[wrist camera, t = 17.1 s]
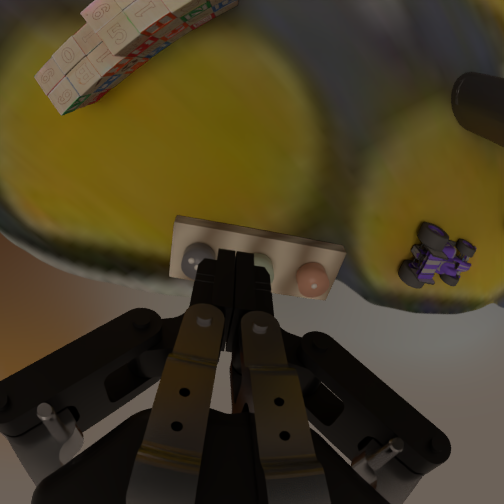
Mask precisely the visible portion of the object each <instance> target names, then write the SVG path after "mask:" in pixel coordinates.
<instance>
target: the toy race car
mask: <svg viewBox="0 0 504 504" xmlns="http://www.w3.org/2000/svg"><path fill="white" fill-rule="evenodd" d="M417 236H418V238H419V239H420V241H421V242H423V243H422V245H421V246H418V245H414V246H413V248H412V250H411V252H412V253H413V255H414V256H415V259H418V260H419V262H418V263H417V262H415V259H414V261H411V260H405V261H404V262H403V264H402V266H401V268H400V270H399V272H398V275H399V277H400V279H401V280H402V281H403V282H404V283H406V284H407V285H409V286H411V287H413V288H422V286H423V285H424V283H427V284H432V285H433V284H434V283H435V282H434V281H433V279H432V277H433V276H434V273H435V272H436V273H438V274H440V278H441V279H442V280H443V281H444V282H445V283H446V284H448V285H450V286H455V285H456V284H457V282H458V281H459V278H460V273H461V271H467V270H469V268H470V266H471V264H470V263H467V261H468V259H469V257H473V255H474V253H475V251H476V247H475V246H473V245H472V244H471V243H469V242H468V241H466V240H464V239H459V241H458V242H457V244H456V242H454V241H451V240H449V236H448V234H447V233H446V232H445V231H443V230H442V229H441V228H439V227H438V226H436V225H434V224H431V223H428V222H424V223H423V224H422V226H421V229H420V231H419V233H418V235H417ZM455 244H456V248H457V249H458V250H459V251H460V252H461V253H462V254H461V253H460V254H461V256H460V255H459V256H460V257H459V256H455V254H456V248H455V247H454V246H455ZM423 245H424V246H423ZM463 254H464V255H465V257H464V256H463ZM462 256H463V258H462V259H461V257H462ZM422 262H423V263H422ZM421 263H422V265H420V264H421Z"/></svg>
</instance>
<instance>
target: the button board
mask: <svg viewBox="0 0 504 504" xmlns="http://www.w3.org/2000/svg"><path fill="white" fill-rule="evenodd" d="M194 243H203V244H206V245H208V246H209V247H211V248H212V249H213V251H214V252H215V256H216V259H215V260H217V256H218V249H219V248H221V249H227V250H234V251H236V252H237V251H241V252H247V253H261V254H264V255H266V256H268V257H269V258H270V259H271V261H272V264H273V271H274V280H273V282H272V283H271V292H272V293H275V294H283V295H289V296H296V297H303V298H309V297H305V296H303V295H302V294H301V293H300V292H299V289H298V284H297V280H296V273H297V271H298V270H299V268H300V267H302V266H303V265H305V264H307V263H318V264H321V265H322V266H323V267H324V268H325V270H326V273H327V276H328V279H329V288H328V289H327V291H326V292H325V293H324V294H322V295H321V296H318V297H314V298H310V299H318V300H326V298H327V296H328V293H329V291H330V289H331V287H332V285H333V282H334V280H335V278H336V276H337V274H338V271H339V269H340V267H341V264H342V262H343V260H344V257H345V255H346V251H345V249H344V247H343V245H338V244H333V243H327V242H322V241H317V240H312V239H307V238H301V237H296V236H291V235H286V234H280V233H275V232H269V231H264V230H258V229H253V228H247V227H242V226H236V225H231V224H225V223H219V222H214V221H208V220H202V219H196V218H190V217H184V216H178V215H177V217H176V219H175V222H174V230H173V240H172V250H171V261H170V273H169V276H170V277H176V278H181V279H187V280H193V279H191V278H189V277H187V276H186V275H185V274H184V273H183V271H182V269H181V262H182V258H183V255H184V251H185V249H186V248H187V247H188V246H189V245H191V244H194ZM235 256H236V253H235ZM193 281H195V280H193Z"/></svg>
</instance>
